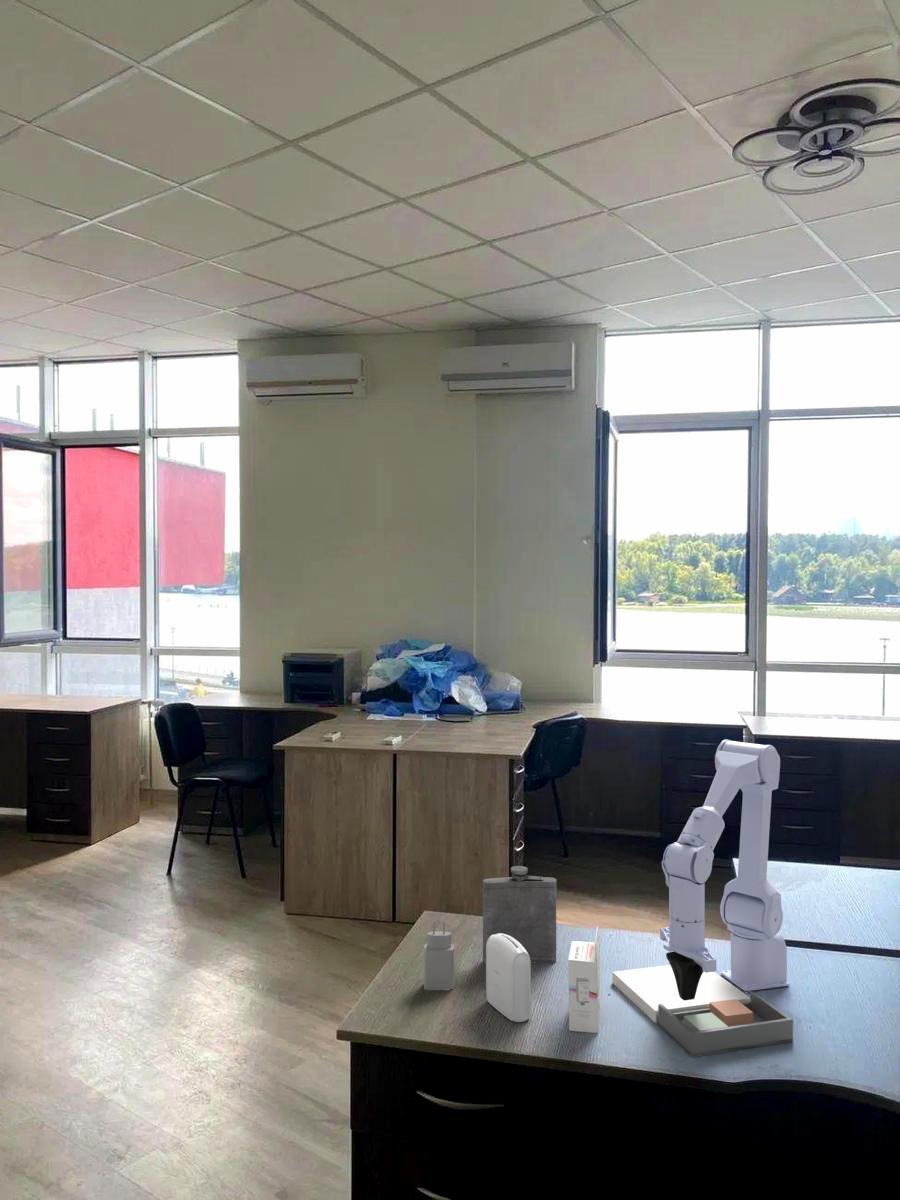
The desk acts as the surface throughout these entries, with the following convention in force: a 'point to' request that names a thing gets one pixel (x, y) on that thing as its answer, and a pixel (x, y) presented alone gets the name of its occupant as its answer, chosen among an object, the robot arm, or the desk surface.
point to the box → (729, 1029)
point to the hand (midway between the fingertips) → (687, 998)
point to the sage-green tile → (703, 1022)
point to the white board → (672, 990)
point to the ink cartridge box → (584, 985)
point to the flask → (522, 912)
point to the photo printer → (508, 977)
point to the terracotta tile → (731, 1012)
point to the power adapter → (438, 960)
